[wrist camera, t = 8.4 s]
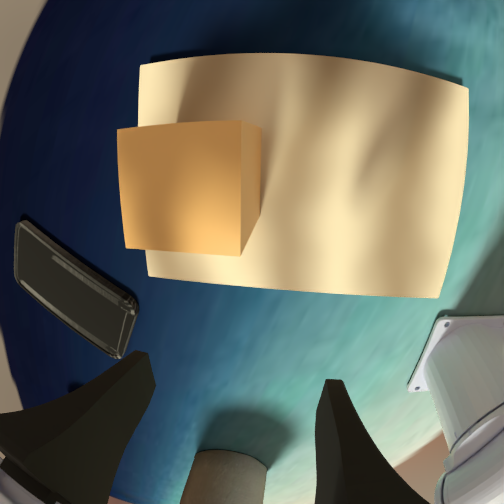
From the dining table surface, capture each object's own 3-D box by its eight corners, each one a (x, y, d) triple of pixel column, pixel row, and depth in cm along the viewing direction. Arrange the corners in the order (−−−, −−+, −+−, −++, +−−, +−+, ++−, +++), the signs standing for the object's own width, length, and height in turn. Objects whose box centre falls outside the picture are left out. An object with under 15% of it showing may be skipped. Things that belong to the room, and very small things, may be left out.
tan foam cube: (261, 127, 15) (241, 120, 9) (259, 216, 17) (240, 256, 11) (174, 129, 15) (117, 129, 10) (177, 212, 17) (126, 248, 12)
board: (460, 89, 12) (499, 82, 8) (433, 291, 18) (458, 327, 13) (147, 68, 15) (108, 54, 11) (154, 270, 20) (123, 301, 16)
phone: (120, 362, 24) (13, 280, 23) (125, 355, 25) (20, 275, 24) (138, 306, 21) (15, 217, 20) (144, 299, 22) (24, 213, 21)
